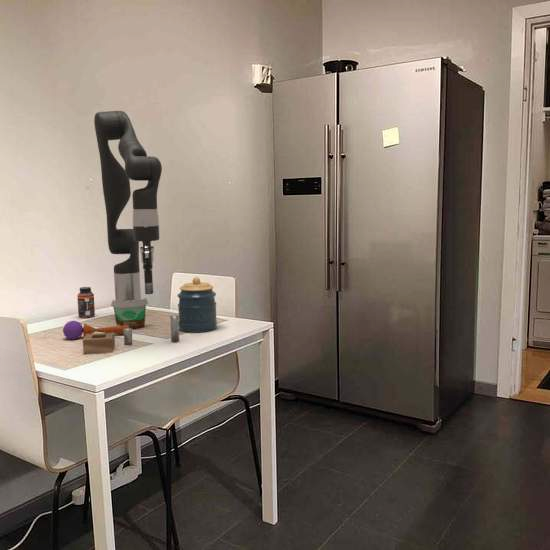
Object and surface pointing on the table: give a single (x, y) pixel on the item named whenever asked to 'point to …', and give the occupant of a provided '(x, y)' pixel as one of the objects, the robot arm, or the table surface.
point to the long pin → (148, 285)
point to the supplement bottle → (86, 303)
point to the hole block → (98, 343)
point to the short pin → (128, 336)
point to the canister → (197, 307)
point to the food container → (130, 313)
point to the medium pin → (174, 328)
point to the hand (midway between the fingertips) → (148, 281)
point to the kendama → (88, 329)
